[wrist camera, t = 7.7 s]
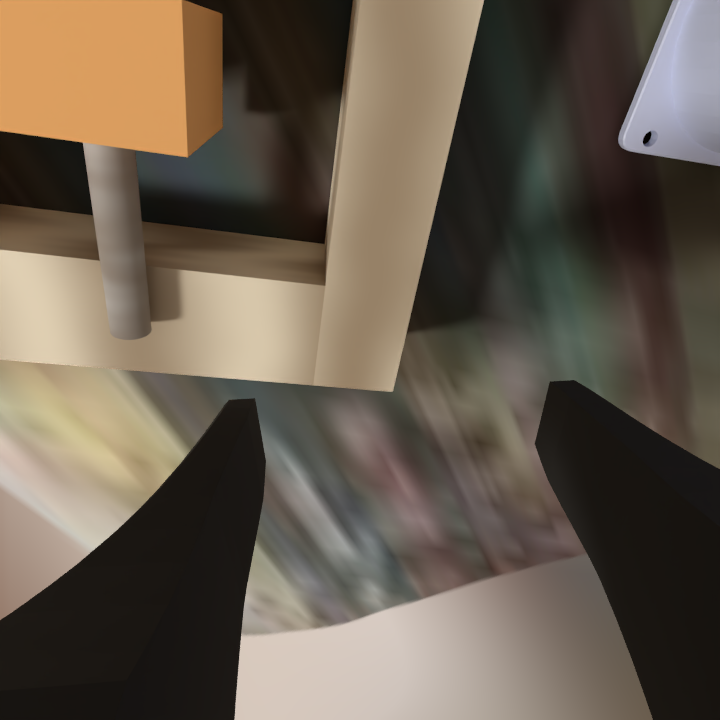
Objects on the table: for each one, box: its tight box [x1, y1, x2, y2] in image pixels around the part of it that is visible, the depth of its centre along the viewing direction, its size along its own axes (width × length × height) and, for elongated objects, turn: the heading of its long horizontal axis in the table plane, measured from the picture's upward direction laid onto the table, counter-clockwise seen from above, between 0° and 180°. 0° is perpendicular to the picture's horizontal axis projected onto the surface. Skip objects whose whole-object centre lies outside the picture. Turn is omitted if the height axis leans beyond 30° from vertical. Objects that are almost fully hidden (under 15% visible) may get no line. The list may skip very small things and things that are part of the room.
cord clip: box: [0, 0, 223, 157], centre depth 12 cm, size 5×3×5 cm, turn 81°
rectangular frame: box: [0, 0, 484, 392], centre depth 13 cm, size 18×18×5 cm
